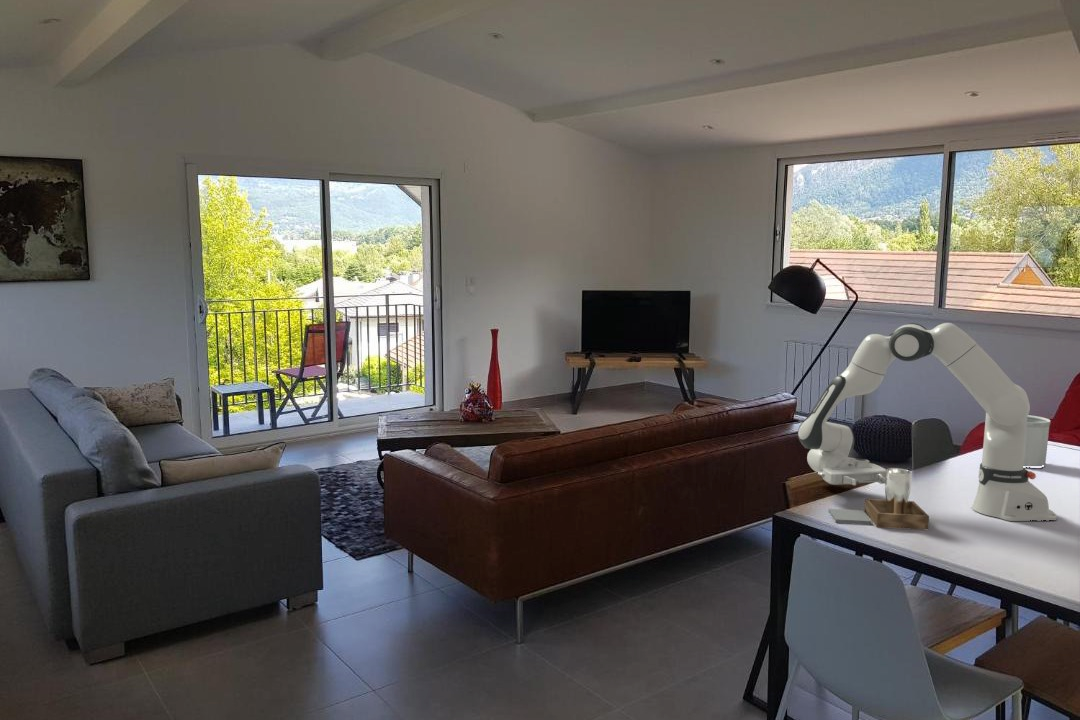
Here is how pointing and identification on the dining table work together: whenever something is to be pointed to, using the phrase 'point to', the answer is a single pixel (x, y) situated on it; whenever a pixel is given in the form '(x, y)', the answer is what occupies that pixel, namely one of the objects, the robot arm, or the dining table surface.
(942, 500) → the dining table surface
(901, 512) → the beer glass
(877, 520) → the wooden tray
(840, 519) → the slate mat
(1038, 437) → the utensil holder
